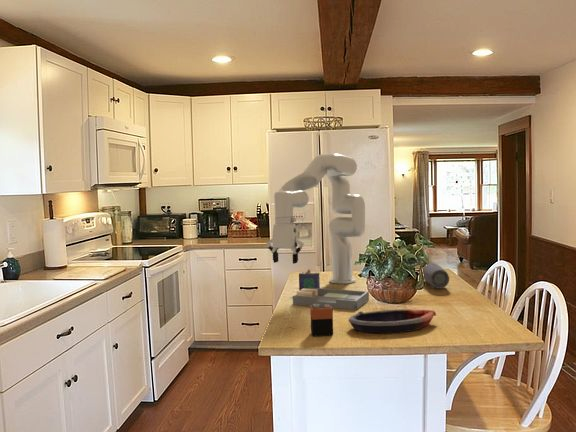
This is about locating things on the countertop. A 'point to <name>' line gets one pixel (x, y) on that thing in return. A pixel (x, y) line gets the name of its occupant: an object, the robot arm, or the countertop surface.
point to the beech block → (308, 292)
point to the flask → (308, 280)
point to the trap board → (334, 298)
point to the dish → (391, 320)
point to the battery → (321, 320)
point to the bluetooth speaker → (435, 275)
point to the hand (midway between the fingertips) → (285, 262)
